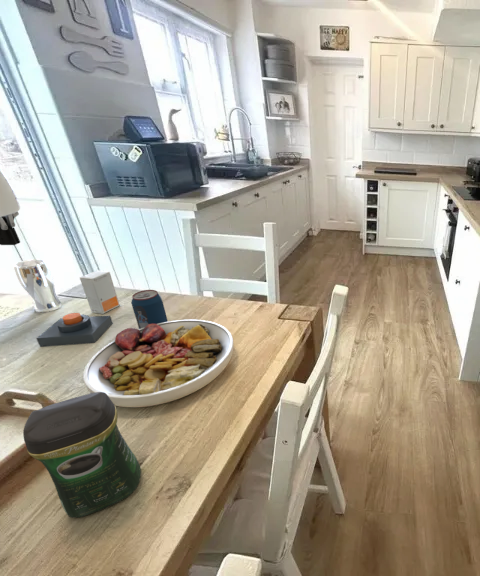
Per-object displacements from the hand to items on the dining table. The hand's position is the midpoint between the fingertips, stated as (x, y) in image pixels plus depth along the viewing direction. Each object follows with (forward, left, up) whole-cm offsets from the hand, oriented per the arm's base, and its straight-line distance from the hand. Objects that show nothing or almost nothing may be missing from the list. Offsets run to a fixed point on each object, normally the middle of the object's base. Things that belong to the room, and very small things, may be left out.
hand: (10, 243), depth 80 cm
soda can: (+28, -5, -25) cm, 38 cm away
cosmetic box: (+9, +10, -25) cm, 29 cm away
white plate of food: (+37, -23, -25) cm, 50 cm away
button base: (+9, -4, -25) cm, 27 cm away
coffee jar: (+37, -54, -25) cm, 70 cm away
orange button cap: (+9, -4, -21) cm, 23 cm away
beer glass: (-7, +13, -25) cm, 29 cm away
